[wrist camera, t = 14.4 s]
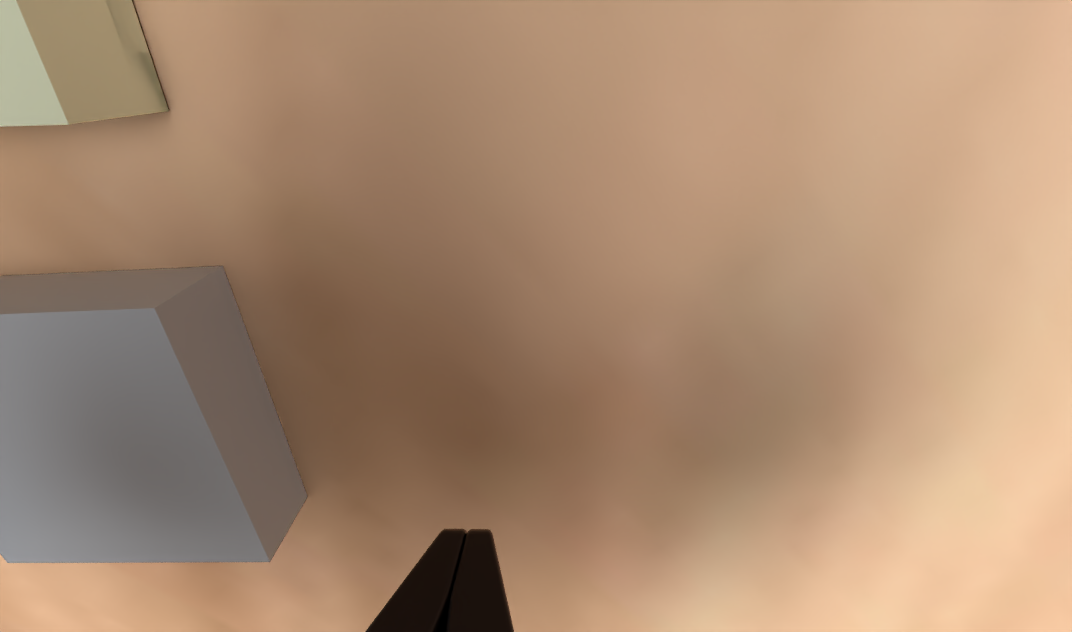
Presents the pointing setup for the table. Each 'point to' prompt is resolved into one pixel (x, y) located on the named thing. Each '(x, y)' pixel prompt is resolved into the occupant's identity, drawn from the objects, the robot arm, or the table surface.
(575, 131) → the table surface
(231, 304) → the board
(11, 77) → the tray
